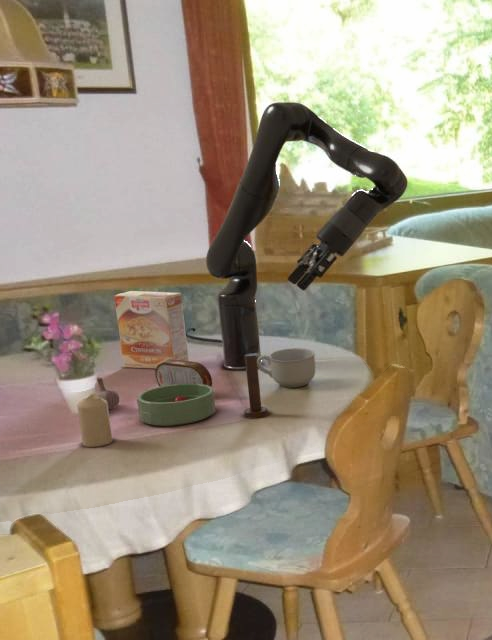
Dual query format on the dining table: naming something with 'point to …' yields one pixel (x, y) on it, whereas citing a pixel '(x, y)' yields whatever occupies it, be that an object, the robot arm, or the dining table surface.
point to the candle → (94, 421)
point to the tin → (182, 373)
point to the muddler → (253, 389)
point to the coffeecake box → (151, 328)
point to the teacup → (290, 366)
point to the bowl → (176, 404)
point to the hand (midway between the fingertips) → (295, 284)
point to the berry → (179, 399)
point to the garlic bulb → (107, 394)
